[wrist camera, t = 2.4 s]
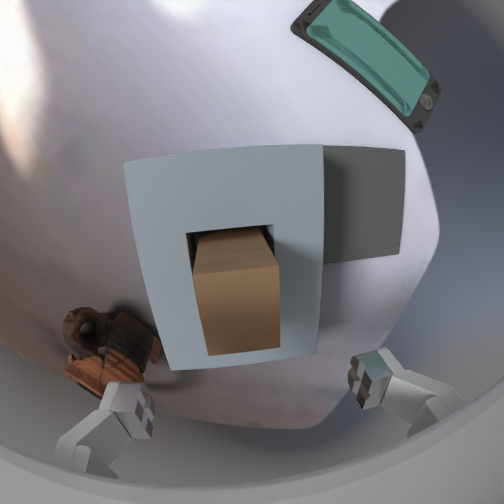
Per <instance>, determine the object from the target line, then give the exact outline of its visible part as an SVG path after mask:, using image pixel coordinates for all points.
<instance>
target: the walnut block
mask: <svg viewBox="0 0 504 504" xmlns="http://www.w3.org/2000/svg"><path fill="white" fill-rule="evenodd" d="M193 280H194V286H195V292H196V297H197V303H198V308H199V313H200V319H201V324H202V329H203V334H204V338H205V343H206V348H207V352H208V356H214V355H225V354H234V353H243V352H251V351H259V350H266V349H273V348H280V283H279V265H278V263H277V261H276V259H275V257H274V255H273V253H272V251H271V250H270V248H269V246H268V244H267V242H266V240H265V239H264V237H263V235H262V233H261V231H260V229H259V228H258V226H247V227H236V228H226V229H217V230H207V231H200V236H199V242H198V247H197V252H196V258H195V264H194V269H193Z"/></svg>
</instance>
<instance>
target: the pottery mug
mask: <svg viewBox="0 0 504 504" xmlns="http://www.w3.org/2000/svg"><path fill="white" fill-rule="evenodd" d="M84 323H86V324H85V325H84V326H83V328H82V330H81V331H80V329H81V327H82V325H83V324H84ZM62 330H63V336H64V339H65V341H66V343H67V345H68V346H69V347H70V348H71V351H72V354H70V355H69V356H68V365H67V367H66V368H64V372H65V373H66V374H67V375H68V376H69V377H70V378H74V379H75V380H76V381H77V384H78V385H79V386H80V387H82V388H83V389H85V390H86V391H88V392H89V393H90V394H92V395H93V396H95V397H96V398H98V399H100V400H102V398H103V395H104V392H105V389H106V387H107V384H108V383H109V382H110V381H115V382H138V383H144V378H143V375H142V373H144V371H145V368H146V364H147V361H148V358H149V359H150V360H151V361H152V362H153V364H157V363H158V361H159V357H160V352H161V348H162V345H161V342H160V341H159V339H158V338H157V337H156V336H155V335H154V334H153V332H151V331H150V330H149V329H148V328H147V326H146V325H144V324H143V323H141V322H140V321H139V320H137V319H136V318H135V317H133V316H131V315H129V314H127V313H125V312H120V313H119V314H118V316H117V317H115V318H114V319H113V320H112V321H111V322H110V320H109V318H108V316H107V315H106V314H105V313H98V312H97V311H95V310H94V309H92V308H88V307H80V308H76V309H74V310H73V311H69V313H68V314H67V316H66V318H65V320H64V322H63V328H62ZM103 346H106V354H105V357H103V356H101V355H99V354H97V352H98V347H103Z"/></svg>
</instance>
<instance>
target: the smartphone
mask: <svg viewBox="0 0 504 504" xmlns="http://www.w3.org/2000/svg"><path fill="white" fill-rule="evenodd" d="M290 29H291V31H292V32H293V34H295V35H297V36H298V37H300V38H301V39H303V40H304V41H306V42H307V43H309V44H310V45H312V46H313V47H315V48H316V49H318V50H319V51H321V52H322V53H324V54H325V55H326V56H328V57H329V58H330V59H332V60H333V61H334V62H336V63H337V64H338V65H340V66H341V67H342V68H344V69H345V70H346V71H347V72H349V73H350V74H351V75H352V76H354V77H355V78H356V79H357V80H358V81H360V82H361V83H362V84H363V85H364V86H365V87H366V88H368V89H369V90H370V91H371V92H372V93H373V94H374V95H375V96H376V97H378V98H379V99H380V100H381V101H382V102H383V103H384V104H385V105H386V106H387V107H388V108H389V109H390V110H391V111H392V112H393V113H394V114H395V115H396V116H397V117H398V118H399V119H400V120H401V121H402V122H403V123H404V124H405V125H406V126H407V127H408V128H409V130H410V131H411V132H412V133H420V132H421V131H422V129H423V127H424V125H425V123H426V122H427V120H428V118H429V115H430V114H431V112H432V110H433V107H434V105H435V103H436V101H437V99H438V97H439V95H440V93H441V86H440V84H439V83H438V82H437V81H436V79H435V78H434V77H433V76H432V75H431V73H430V72H429V71H428V70H427V69H426V68H425V67H424V65H423V64H422V63H421V62H420V61H419V60H418V59H417V58H416V57H415V56H414V55H413V54H412V53H411V52H410V51H409V50H408V49H407V48H406V47H405V46H404V45H403V44H402V43H401V42H400V41H399V40H398V39H397V38H396V37H395V36H394V35H393V34H392V33H390V31H388V30H387V29H386V28H385V27H384V26H383V25H381V24H380V23H379V22H378V21H377V20H376V19H374V18H373V17H372V16H371V15H370V14H368V13H367V12H366V11H364V10H363V9H362V8H361V7H359V6H358V5H357V4H355V3H354V2H352V1H351V0H314V1H313V2H312V3H311V4H310V5H309V6H308V7H307V8H306V9H305V10H304V11H303V12H302V13H301V14H300V15H299V17H298V18H297V19H296V20H295V21H294V22H293V23H292V25H291V28H290Z"/></svg>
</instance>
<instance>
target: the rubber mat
mask: <svg viewBox="0 0 504 504" xmlns="http://www.w3.org/2000/svg"><path fill="white" fill-rule="evenodd" d="M323 167H324V243H323V264H328V263H336V262H343V261H351V260H359V259H366V258H373V257H381V256H388V255H395V254H398V253H399V245H400V236H401V226H402V215H403V200H404V174H405V150H397V149H386V148H373V147H356V146H324V145H323Z"/></svg>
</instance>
